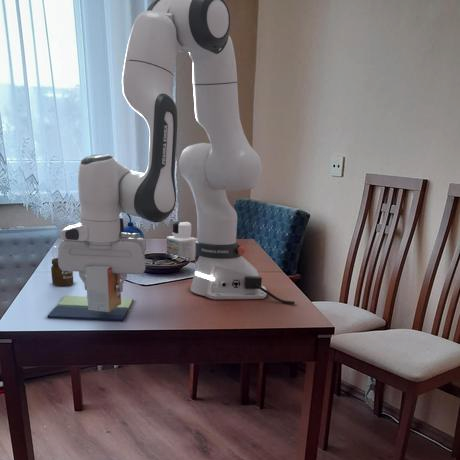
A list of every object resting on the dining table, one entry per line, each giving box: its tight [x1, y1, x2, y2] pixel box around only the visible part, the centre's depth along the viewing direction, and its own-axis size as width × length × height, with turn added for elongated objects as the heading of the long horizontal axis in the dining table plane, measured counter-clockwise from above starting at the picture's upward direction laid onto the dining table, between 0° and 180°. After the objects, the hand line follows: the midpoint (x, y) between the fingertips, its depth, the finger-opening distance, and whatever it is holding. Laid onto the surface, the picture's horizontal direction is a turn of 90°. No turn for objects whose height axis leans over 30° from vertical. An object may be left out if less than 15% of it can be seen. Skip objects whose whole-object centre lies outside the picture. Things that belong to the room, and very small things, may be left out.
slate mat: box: [47, 305, 129, 322], centre depth 137 cm, size 18×8×1 cm, turn 91°
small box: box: [85, 266, 122, 312], centre depth 134 cm, size 8×6×10 cm
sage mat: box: [57, 295, 134, 311], centre depth 145 cm, size 18×8×1 cm, turn 91°
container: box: [166, 220, 197, 262], centre depth 195 cm, size 8×8×13 cm
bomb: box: [124, 214, 145, 238], centre depth 199 cm, size 10×11×15 cm
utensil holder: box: [50, 245, 74, 287], centre depth 158 cm, size 6×6×12 cm
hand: (103, 290), depth 134 cm, fingers closed on small box, 6 cm apart
